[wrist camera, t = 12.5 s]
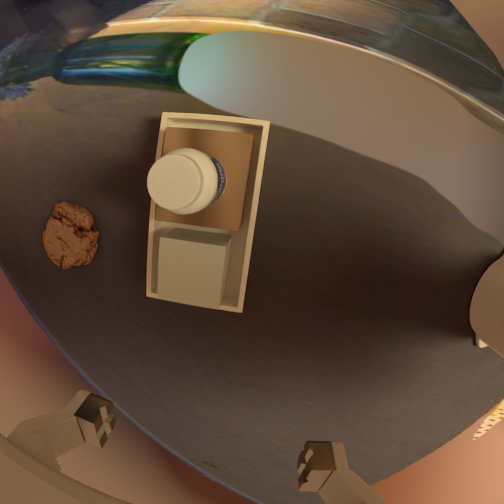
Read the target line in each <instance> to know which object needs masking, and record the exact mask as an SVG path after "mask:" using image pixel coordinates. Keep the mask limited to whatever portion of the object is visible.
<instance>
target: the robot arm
mask: <svg viewBox="0 0 504 504" xmlns="http://www.w3.org/2000/svg"><path fill="white" fill-rule="evenodd" d="M470 323H471V327H472V329H473V330H474V332H475V334H476V345H477V346H479V347H480V348H483V347H486V346H489V347H490V348H492V349H493V350H494V351H496V352H497V353H498V354H500V355H501V356H502V357H504V254H503V256H502V257H501V258H500V259H498V260H497V261H495V262H494V263H493V264H492V265H491V266H490V267H489V268H488V269H487V270H486V271H485V273H484V274H483V276H482V277H481V279H480V281H479V283H478V285H477V287H476V289H475V292H474V294H473V297H472V301H471V306H470ZM113 407H114V405H113V402H112V401H110V400H107V399H105V398H102V397H100V396H98V395H95V394H93V393H90V392H88V391H86V390H83V389H81V390H80V391H78V393H77V394H76V395H75V396H74V398H73V399H72V400H71V401H70V403H69V404H68V405H67V406H66V408H65V409H64V410H61V409H60V410H57V411H54V412H51V413H48V414H45V415H42V416H38V417H35V418H32V419H28V420H25V421H21V422H20V423H19V424H18V426H16V428H15V429H14V430H13V431H12V432H11V433H10V435H9V436H8V437H7V438H6V437H5V436H3V435H2V434H1V433H0V504H131V503H128V502H125V501H123V500H120V499H118V498H115V497H112V496H110V495H108V494H105V493H103V492H100V491H98V490H96V489H94V488H91V487H89V486H87V485H85V484H83V483H81V482H79V481H77V480H75V479H73V478H71V477H69V476H66V475H65V474H63V473H61V472H60V470H61V468H60V465H59V464H58V462H57V460H56V459H55V458H57V457H59V456H61V455H63V454H65V453H67V452H69V451H71V450H73V449H75V448H77V447H79V446H81V445H82V444H84V443H85V442H86V443H88V444H91V445H93V446H96V447H98V448H101V449H102V448H103V446H104V444H105V443H106V441H107V439H108V438H107V435H106V434H108V433H111V432H112V430H113V429H114V426H115V422H116V416H115V413H114V412H113V410H112V409H113ZM297 470H298V472H299V473H300V476H299V478H298V490H299V491H317V492H318V493H319V495H320V496H321V497H322V498H323V500H324V501H325V502H326V504H386V500H385V499H383V498H382V497H381V496H380V495H379V494H378V493H377V492H375V491H374V490H373V489H372V488H371V487H370V486H369V485H368V484H366V483H365V482H364V481H363V480H362V479H361V478H360V477H359V476H358V475H357V474H356V473H354V472H353V471H352V470H349V468H348V463H347V459H346V454H345V449H344V445H343V443H342V442H330V441H306V442H305V444H304V450H303V451H301V453H300V455H299V458H298V464H297Z"/></svg>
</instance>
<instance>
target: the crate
mask: <svg viewBox="0 0 504 504" xmlns="http://www.w3.org/2000/svg"><path fill="white" fill-rule="evenodd" d="M269 125H270V121H264V120H256V119H248V118H240V117H230V116H219V115H207V114H192V113H170V112H163V113H162V119H161V125H160V131H159V138H158V145H157V152H156V160H155V162H156V161H157V160H158V159H160V158H161V157H162V153H163V146H164V139H165V132H166V127H180V128H195V129H208V130H219V131H229V132H238V133H246V134H253V138H254V145H253V151H252V158H251V165H250V172H249V179H248V186H247V193H246V200H245V207H244V215H243V222H242V226H241V228H240V230H239V232H237V231H230V230H223V229H216V228H209V227H201V226H194V225H187V224H180V223H172V222H165V221H157V220H155V219H156V207H157V204H156V203H155V202H154V201H153V199H152V198H151V207H150V220H149V235H148V254H147V288H146V296H148V297H153V298H157V284H158V260H159V242H160V237H161V236H163V235H164V234H166V233H167V232H169V231H171V230H172V229H174V228H176V227H178V228H185V229H192V230H199V231H206V232H213V233H220V234H227V235H232V241H231V249H230V257H229V265H228V273H227V281H226V289H225V292H224V295H223V298H222V301H221V304H220V307H219V309H220V310H226V311H233V312H239V313H242V310H243V303H244V297H245V290H246V283H247V276H248V269H249V262H250V256H251V249H252V242H253V235H254V228H255V221H256V214H257V207H258V201H259V194H260V187H261V180H262V173H263V166H264V160H265V153H266V146H267V139H268V132H269Z"/></svg>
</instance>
